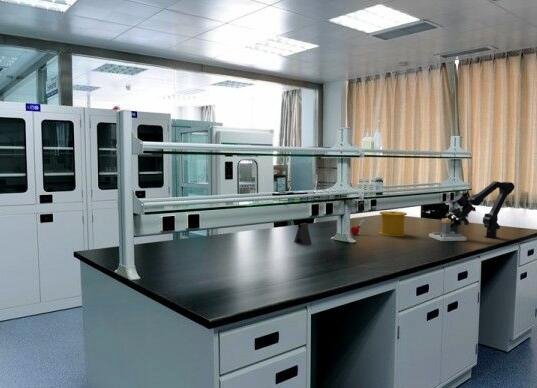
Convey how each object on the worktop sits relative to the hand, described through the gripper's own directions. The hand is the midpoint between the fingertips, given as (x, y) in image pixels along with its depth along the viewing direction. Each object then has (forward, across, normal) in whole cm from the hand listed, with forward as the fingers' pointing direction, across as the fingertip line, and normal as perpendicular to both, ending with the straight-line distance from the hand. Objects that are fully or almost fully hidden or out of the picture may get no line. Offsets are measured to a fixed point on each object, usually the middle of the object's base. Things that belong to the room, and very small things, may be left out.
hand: (448, 228), depth 286 cm
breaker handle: (+4, 0, +2) cm, 5 cm away
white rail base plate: (+5, 0, +5) cm, 7 cm away
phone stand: (+75, +3, -64) cm, 99 cm away
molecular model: (+45, -21, -34) cm, 60 cm away
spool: (+26, -20, -15) cm, 36 cm away
